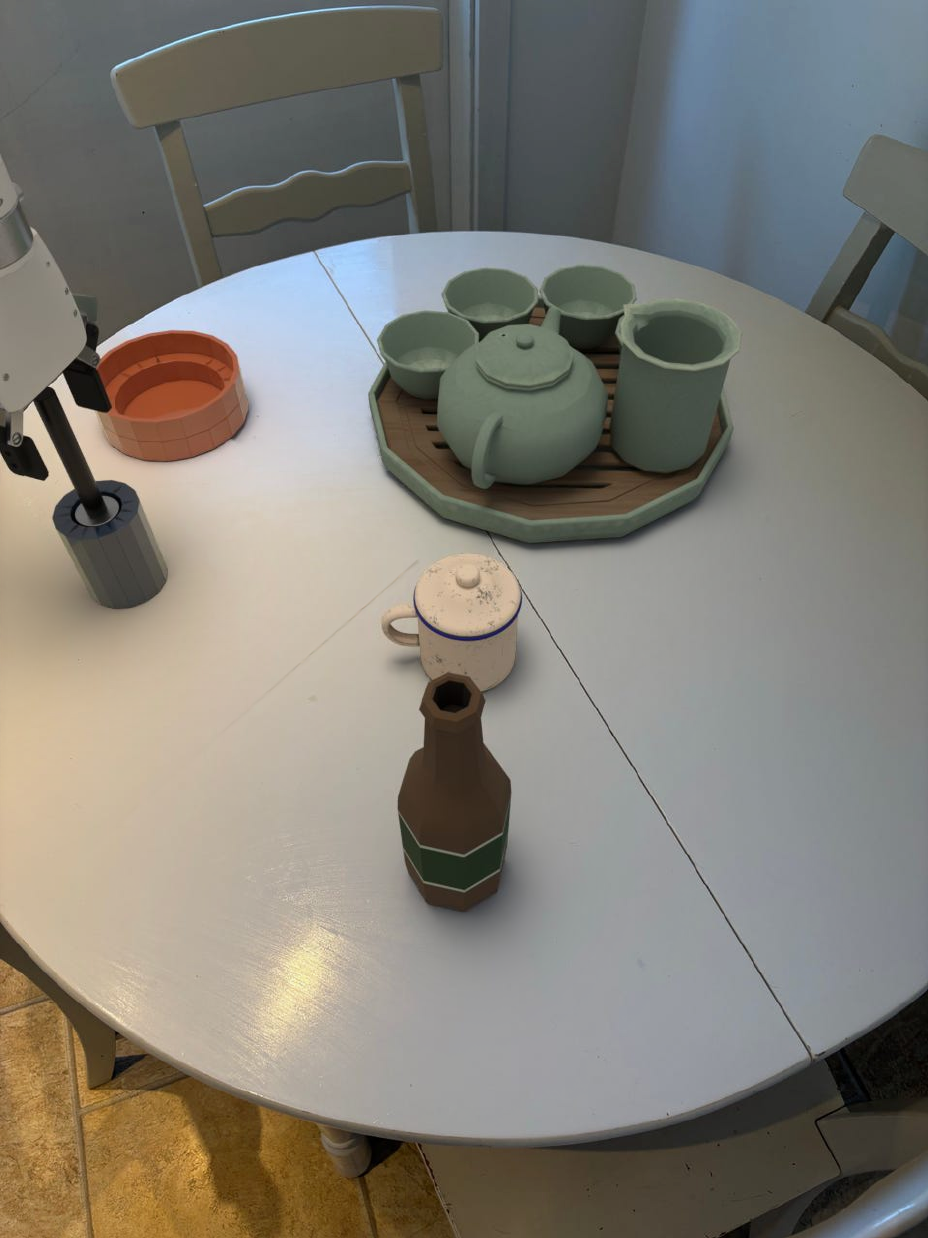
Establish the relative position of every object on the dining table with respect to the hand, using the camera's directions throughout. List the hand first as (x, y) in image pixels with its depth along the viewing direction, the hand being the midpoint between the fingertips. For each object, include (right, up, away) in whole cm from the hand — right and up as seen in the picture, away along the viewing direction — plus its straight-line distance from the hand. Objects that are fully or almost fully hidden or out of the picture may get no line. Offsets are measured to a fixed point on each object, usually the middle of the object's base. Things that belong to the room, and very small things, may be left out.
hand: (64, 439), depth 72 cm
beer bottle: (+32, -34, -4) cm, 47 cm away
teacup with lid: (+31, -18, +9) cm, 37 cm away
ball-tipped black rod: (0, -11, +14) cm, 17 cm away
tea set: (+42, +8, +29) cm, 51 cm away
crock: (0, -11, +14) cm, 18 cm away
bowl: (0, +9, +29) cm, 31 cm away
